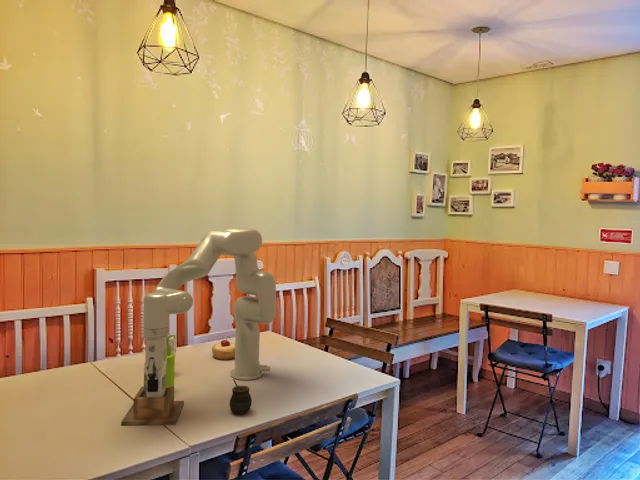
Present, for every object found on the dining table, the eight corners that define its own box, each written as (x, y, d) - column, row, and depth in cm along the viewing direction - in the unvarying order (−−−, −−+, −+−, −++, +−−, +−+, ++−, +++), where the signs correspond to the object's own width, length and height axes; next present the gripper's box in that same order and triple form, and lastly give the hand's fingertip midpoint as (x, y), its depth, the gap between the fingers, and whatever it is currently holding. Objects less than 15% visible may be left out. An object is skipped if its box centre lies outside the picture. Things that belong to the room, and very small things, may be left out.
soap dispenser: (179, 388, 180) (180, 334, 179) (167, 395, 174) (168, 339, 172) (165, 385, 182) (166, 332, 181) (153, 392, 176) (154, 337, 174)
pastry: (206, 359, 216) (206, 339, 215) (221, 352, 227) (221, 333, 226) (230, 362, 212) (229, 342, 211) (244, 355, 223) (244, 335, 222)
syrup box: (147, 400, 161) (148, 356, 160) (166, 400, 161) (166, 357, 160) (142, 407, 155) (143, 362, 154) (162, 407, 155) (162, 362, 154)
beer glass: (178, 372, 197) (179, 335, 196) (171, 378, 190) (172, 340, 189) (161, 371, 197) (162, 334, 196) (154, 377, 190) (154, 339, 189)
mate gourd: (241, 418, 157) (241, 387, 157) (223, 412, 161) (224, 382, 160) (256, 410, 163) (256, 381, 163) (238, 405, 167) (238, 376, 167)
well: (183, 403, 167) (184, 383, 166) (175, 424, 151) (176, 402, 151) (134, 403, 165) (135, 383, 165) (121, 425, 149) (121, 402, 149)
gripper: (162, 339, 148) (161, 398, 150) (172, 325, 165) (172, 378, 167) (136, 339, 147) (135, 398, 149) (149, 325, 164) (149, 378, 166)
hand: (155, 387), depth 158 cm, fingers closed on syrup box, 5 cm apart
